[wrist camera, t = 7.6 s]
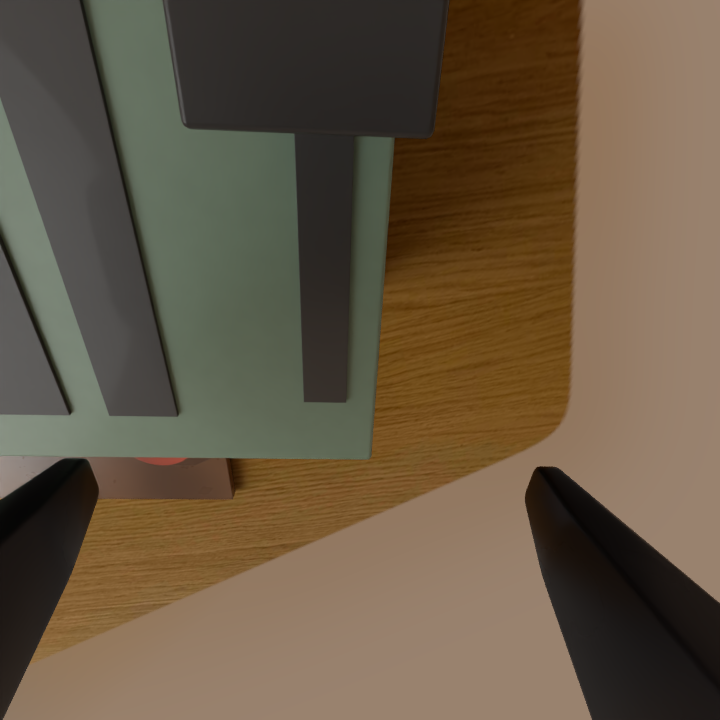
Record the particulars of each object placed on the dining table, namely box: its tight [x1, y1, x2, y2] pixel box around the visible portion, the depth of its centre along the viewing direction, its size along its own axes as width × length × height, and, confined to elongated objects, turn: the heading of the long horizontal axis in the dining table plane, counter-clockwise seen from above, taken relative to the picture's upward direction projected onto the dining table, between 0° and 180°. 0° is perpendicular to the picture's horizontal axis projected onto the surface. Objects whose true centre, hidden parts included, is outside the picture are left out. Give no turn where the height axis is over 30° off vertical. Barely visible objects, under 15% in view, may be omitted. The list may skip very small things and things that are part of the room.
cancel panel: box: [0, 456, 235, 499], centre depth 24 cm, size 19×11×2 cm, turn 88°
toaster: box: [0, 0, 395, 459], centre depth 12 cm, size 10×14×11 cm
